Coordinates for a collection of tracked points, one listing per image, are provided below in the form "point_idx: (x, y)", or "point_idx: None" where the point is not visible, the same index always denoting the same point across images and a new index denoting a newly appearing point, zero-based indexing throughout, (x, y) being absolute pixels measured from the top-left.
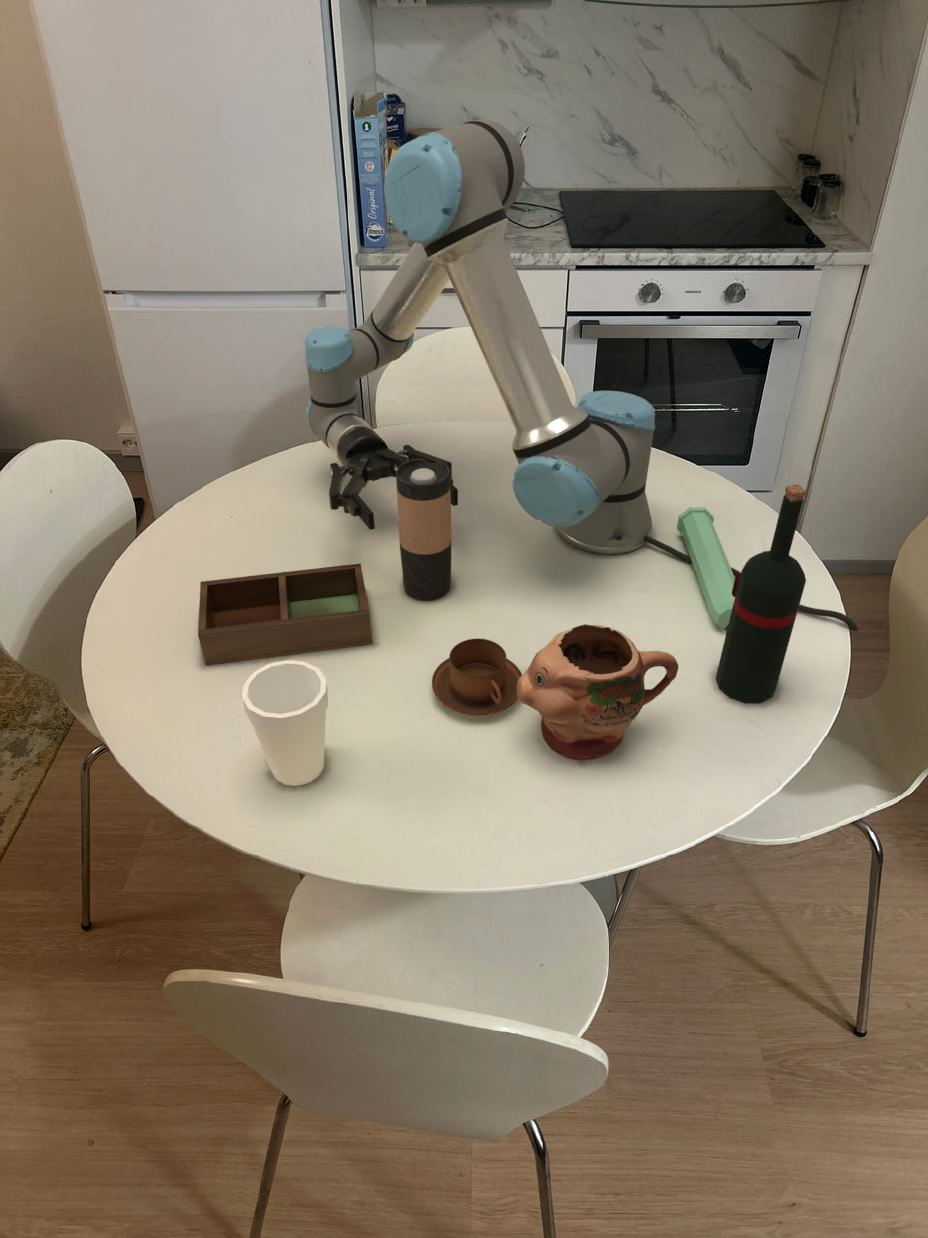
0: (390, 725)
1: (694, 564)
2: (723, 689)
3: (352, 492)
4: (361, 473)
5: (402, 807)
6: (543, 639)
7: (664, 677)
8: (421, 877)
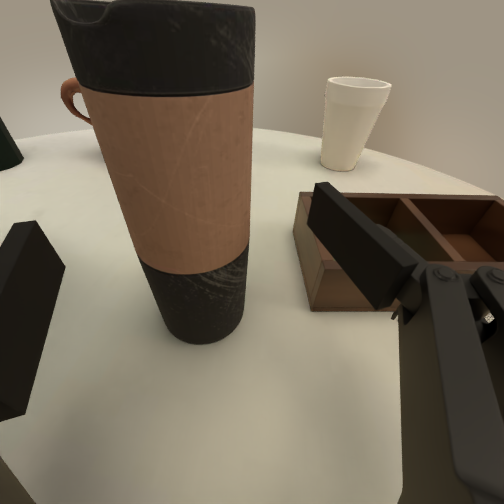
0: (276, 173)
1: None
2: (20, 158)
3: (421, 305)
4: (456, 462)
5: (272, 145)
6: (110, 212)
7: (75, 109)
8: (265, 130)
